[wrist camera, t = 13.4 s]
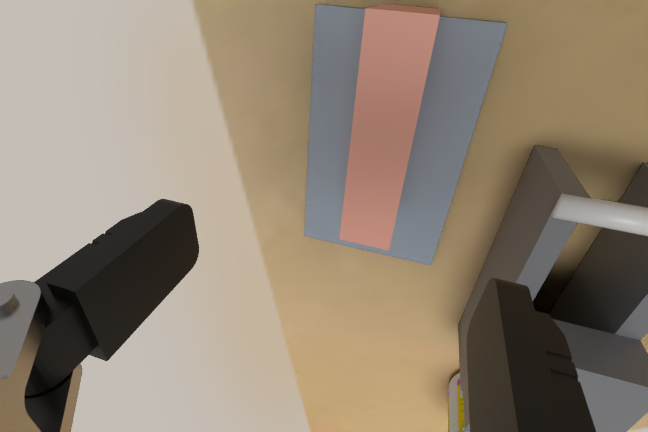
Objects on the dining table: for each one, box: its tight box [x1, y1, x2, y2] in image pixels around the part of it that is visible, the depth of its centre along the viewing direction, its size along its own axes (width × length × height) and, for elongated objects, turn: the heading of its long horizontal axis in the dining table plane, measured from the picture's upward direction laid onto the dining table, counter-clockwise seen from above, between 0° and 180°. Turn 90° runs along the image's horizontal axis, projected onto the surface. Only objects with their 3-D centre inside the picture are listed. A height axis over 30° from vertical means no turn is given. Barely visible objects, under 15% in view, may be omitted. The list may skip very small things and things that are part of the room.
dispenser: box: [458, 145, 648, 432], centre depth 21 cm, size 16×7×9 cm, turn 176°
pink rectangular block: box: [339, 4, 441, 250], centre depth 20 cm, size 12×3×5 cm, turn 176°
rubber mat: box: [304, 4, 507, 265], centre depth 23 cm, size 16×10×1 cm, turn 176°
